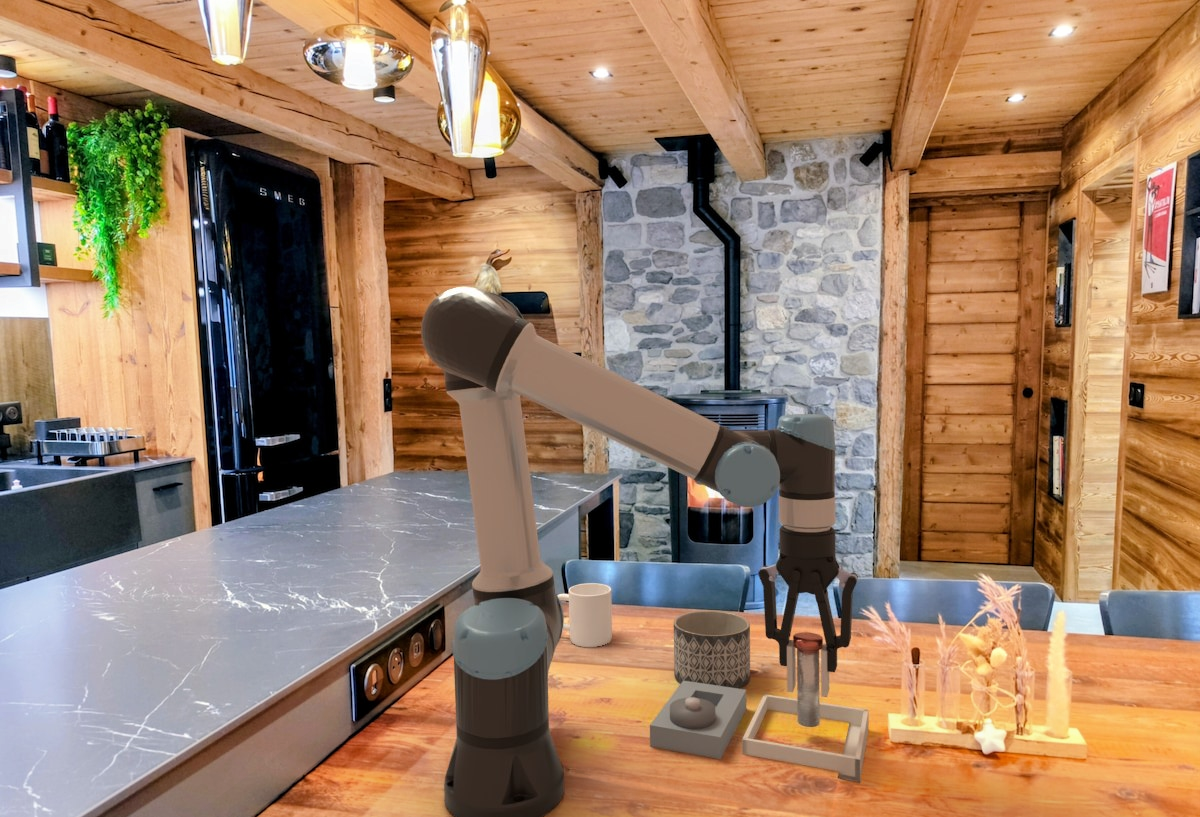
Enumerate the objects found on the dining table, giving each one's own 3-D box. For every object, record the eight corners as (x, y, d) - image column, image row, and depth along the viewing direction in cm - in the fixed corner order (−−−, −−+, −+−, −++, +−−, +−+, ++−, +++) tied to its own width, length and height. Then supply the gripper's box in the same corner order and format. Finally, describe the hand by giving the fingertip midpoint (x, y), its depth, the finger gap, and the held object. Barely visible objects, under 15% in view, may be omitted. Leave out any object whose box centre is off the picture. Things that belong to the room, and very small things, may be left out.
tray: (859, 782, 101) (859, 759, 101) (742, 760, 107) (742, 739, 106) (868, 729, 115) (868, 709, 115) (764, 713, 121) (764, 694, 120)
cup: (606, 649, 148) (605, 596, 148) (546, 644, 151) (544, 593, 151) (616, 634, 156) (615, 584, 156) (559, 630, 159) (557, 581, 159)
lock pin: (821, 730, 108) (820, 644, 107) (791, 726, 109) (791, 640, 109) (825, 718, 112) (824, 634, 111) (796, 713, 113) (795, 631, 112)
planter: (660, 677, 135) (659, 617, 134) (720, 662, 141) (720, 605, 140) (702, 705, 124) (701, 640, 123) (766, 688, 130) (765, 626, 129)
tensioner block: (720, 766, 105) (720, 718, 105) (650, 752, 109) (649, 706, 109) (746, 715, 120) (746, 673, 120) (683, 705, 124) (683, 664, 124)
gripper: (873, 524, 109) (874, 688, 110) (751, 517, 115) (753, 672, 117) (869, 535, 102) (870, 711, 103) (740, 527, 109) (742, 692, 110)
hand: (808, 690), depth 110 cm, fingers closed on lock pin, 4 cm apart
